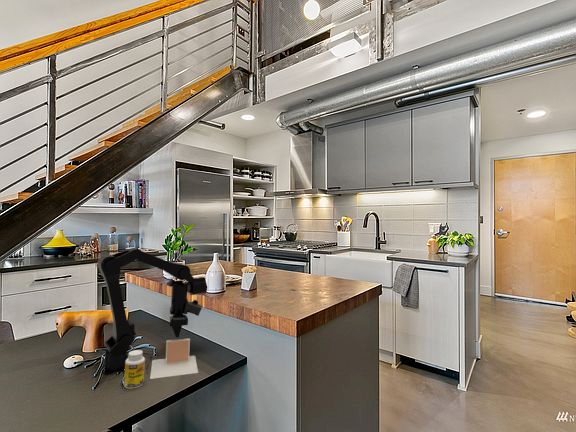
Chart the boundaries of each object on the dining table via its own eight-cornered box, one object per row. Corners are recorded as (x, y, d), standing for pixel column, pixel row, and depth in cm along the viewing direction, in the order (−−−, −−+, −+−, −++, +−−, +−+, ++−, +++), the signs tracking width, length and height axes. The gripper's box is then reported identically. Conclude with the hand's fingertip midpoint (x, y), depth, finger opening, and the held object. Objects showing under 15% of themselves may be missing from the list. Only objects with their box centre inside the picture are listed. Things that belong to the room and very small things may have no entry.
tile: (165, 364, 111) (166, 342, 111) (165, 362, 113) (166, 340, 113) (188, 362, 114) (190, 339, 114) (188, 359, 115) (189, 338, 116)
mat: (150, 380, 101) (150, 378, 101) (152, 361, 114) (152, 360, 114) (198, 373, 106) (198, 372, 106) (195, 356, 119) (195, 355, 119)
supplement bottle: (124, 391, 94) (126, 357, 94) (122, 383, 98) (124, 350, 98) (145, 387, 97) (146, 353, 97) (142, 379, 101) (143, 347, 101)
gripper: (203, 301, 115) (201, 344, 115) (198, 290, 133) (196, 327, 132) (171, 303, 111) (168, 347, 111) (170, 291, 129) (168, 329, 128)
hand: (177, 336), depth 121 cm, fingers closed
